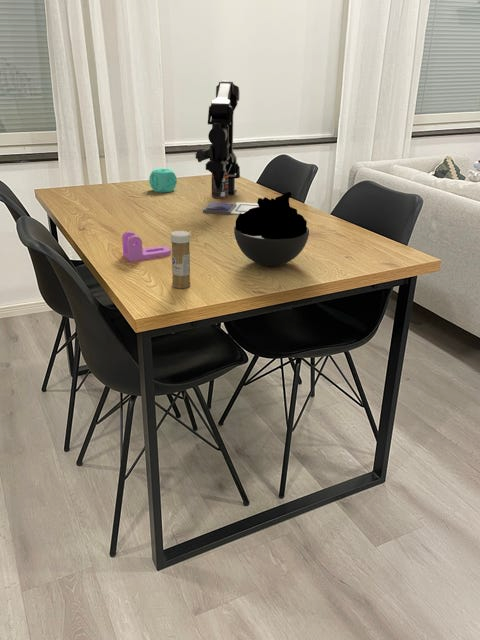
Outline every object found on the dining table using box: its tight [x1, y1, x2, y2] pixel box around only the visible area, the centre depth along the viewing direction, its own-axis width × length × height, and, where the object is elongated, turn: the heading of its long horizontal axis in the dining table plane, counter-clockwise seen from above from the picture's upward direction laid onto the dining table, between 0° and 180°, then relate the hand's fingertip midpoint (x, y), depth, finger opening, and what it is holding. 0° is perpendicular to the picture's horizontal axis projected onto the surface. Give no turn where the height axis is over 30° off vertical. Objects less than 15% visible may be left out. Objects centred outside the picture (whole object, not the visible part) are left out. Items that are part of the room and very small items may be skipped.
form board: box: [230, 201, 259, 216], centre depth 211 cm, size 16×14×1 cm
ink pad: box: [202, 201, 237, 215], centre depth 210 cm, size 11×10×1 cm
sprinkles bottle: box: [170, 230, 191, 289], centre depth 140 cm, size 5×5×13 cm
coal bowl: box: [233, 191, 310, 267], centre depth 155 cm, size 20×20×19 cm
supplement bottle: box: [211, 167, 229, 200], centre depth 206 cm, size 6×6×11 cm
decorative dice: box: [148, 168, 178, 193], centre depth 235 cm, size 8×8×8 cm
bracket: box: [121, 230, 172, 262], centre depth 162 cm, size 13×6×7 cm, turn 119°
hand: (220, 186), depth 207 cm, fingers closed on supplement bottle, 6 cm apart
